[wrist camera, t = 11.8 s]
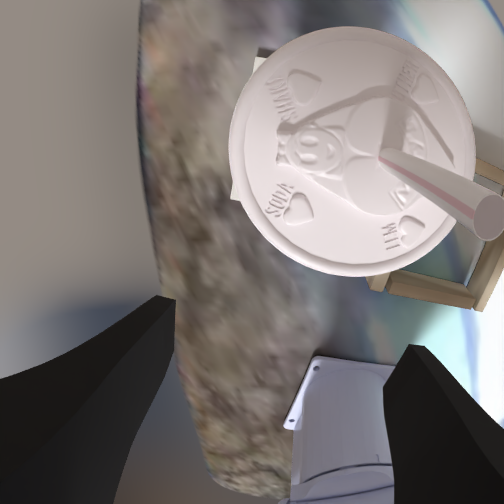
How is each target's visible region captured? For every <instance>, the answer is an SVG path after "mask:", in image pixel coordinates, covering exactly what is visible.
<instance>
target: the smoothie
mask: <svg viewBox="0 0 504 504" xmlns="http://www.w3.org/2000/svg"><path fill="white" fill-rule="evenodd" d="M229 162H230V168H231V174H232V178H233V182H234V186H235V189H236V191H237V194H238V197H239V199H240V201H241V203H242V205H243V207H244V209H245V211H246V213H247V214H248V216H249V218H250V219H251V221H252V222H253V224H254V225H255V226H256V228H257V229H258V230H259V231H260V232H261V234H262V235H263V236H264V237H265V238H266V239H267V240H268V241H269V242H270V243H271V244H272V245H273V246H275V247H276V248H277V249H278V250H280V251H281V252H282V253H284V254H285V255H287V256H288V257H290V258H291V259H293V260H295V261H296V262H298V263H300V264H302V265H304V266H307V267H309V268H312V269H314V270H317V271H321V272H324V273H328V274H333V275H338V276H348V277H363V276H373V275H379V274H384V273H388V272H391V271H394V270H397V269H400V268H402V267H405V266H407V265H409V264H411V263H413V262H415V261H416V260H418V259H420V258H421V257H423V256H424V255H426V254H427V253H428V252H430V251H431V250H432V249H433V248H434V247H436V246H437V245H438V244H439V243H440V242H441V241H442V240H443V239H444V238H445V236H446V235H447V234H448V233H449V232H450V230H451V229H452V228H453V226H454V225H455V224H456V222H457V221H458V222H459V223H461V224H462V225H463V226H464V227H466V228H467V229H468V230H469V231H471V232H472V233H473V234H474V235H476V236H477V237H478V238H479V239H481V240H483V241H491V240H494V239H496V238H497V237H498V236H500V234H501V233H502V232H503V230H504V198H503V197H502V196H501V195H499V194H497V193H496V192H494V191H492V190H490V189H488V188H486V187H484V186H482V185H479V184H477V183H475V182H473V179H474V174H475V164H476V146H475V137H474V131H473V126H472V123H471V119H470V116H469V113H468V110H467V108H466V105H465V103H464V101H463V99H462V97H461V95H460V93H459V91H458V89H457V88H456V86H455V85H454V83H453V82H452V80H451V79H450V78H449V76H448V75H447V74H446V73H445V71H444V70H443V69H442V68H441V67H440V66H439V65H438V64H437V63H436V62H435V61H434V60H433V59H432V58H431V57H429V56H428V55H427V54H426V53H425V52H423V51H422V50H420V49H419V48H417V47H416V46H414V45H413V44H411V43H409V42H407V41H406V40H404V39H402V38H399V37H397V36H395V35H392V34H389V33H386V32H383V31H380V30H375V29H371V28H365V27H355V26H341V27H332V28H326V29H321V30H317V31H313V32H310V33H307V34H305V35H302V36H300V37H298V38H296V39H294V40H291V41H290V42H288V43H286V44H285V45H283V46H282V47H280V48H279V49H277V50H276V51H275V52H274V53H272V54H271V55H270V56H269V57H268V58H267V59H266V60H265V61H264V62H263V63H262V64H261V65H260V66H259V67H258V68H257V69H256V71H255V72H254V73H253V74H252V76H251V77H250V79H249V80H248V82H247V83H246V85H245V87H244V89H243V91H242V93H241V95H240V97H239V99H238V102H237V104H236V107H235V110H234V113H233V117H232V121H231V127H230V134H229Z"/></svg>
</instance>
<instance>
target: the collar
mask: <svg viewBox="0 0 504 504" xmlns="http://www.w3.org/2000/svg"><path fill="white" fill-rule="evenodd" d="M475 173H477V174H479V175H481V176H484V177H486V178H488V179H490V180H492V181H495V182H497V183H499V184H501V185H503V186H504V171H503V170H501V169H499V168H497V167H495V166H493V165H491V164H489V163H486V162H484V161H482V160H480V159H478V158H476V164H475ZM502 197H503V198H504V192H503V195H502ZM503 268H504V230H503V232H502V233H501V234H500V236H498V237H497V238H496V239H494V240H491V241H486V244H485V247H484V249H483V252H482V254H481V256H480V259H479V261H478V264H477V266H476V268H475V271H474V273H473V275H472V277H471V279H470V282H469V284H468V286H467V288H466V286H465V285H464V284H460V283H456V282H452V281H448V280H443V279H439V278H435V277H431V276H426V275H422V274H418V273H413V272H409V271H405V270H400V269H397V270H394V271H391V272H388V273H384V274H379V275H373V276H365V278H366V280H367V283H368V286H369V288H370V290H374V291H379V292H383V290H384V287H386V289H387V292H388V294H393V295H398V296H403V297H408V298H414V299H419V300H424V301H429V302H434V303H439V304H444V305H449V306H454V307H460V308H465V309H470V310H471V308H473V309H474V310H475V311H481V312H483V310H484V308H485V306H486V304H487V302H488V300H489V298H490V296H491V294H492V292H493V290H494V288H495V286H496V284H497V282H498V279H499V277H500V275H501V273H502V271H503Z"/></svg>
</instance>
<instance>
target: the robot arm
mask: <svg viewBox="0 0 504 504" xmlns="http://www.w3.org/2000/svg"><path fill="white" fill-rule="evenodd" d="M175 307H176V300H174V299H170V298H166V297H162V296H158V295H156V296H154V297H153V298H151V299H150V300H148V301H147V302H146V303H144V304H142V305H141V306H140V307H138V308H137V309H136V310H134V311H132V312H131V313H130V314H128V315H127V316H125V317H124V318H122V319H121V320H119V321H118V322H116V323H115V324H114V325H112V326H110V327H109V328H107V329H106V330H104V331H103V332H101V333H100V334H98V335H96V336H95V337H93V338H91V339H90V340H88V341H86V342H84V343H83V344H81V345H79V346H78V347H76V348H74V349H72V350H70V351H69V352H67V353H65V354H63V355H61V356H59V357H56V358H54V359H52V360H50V361H48V362H46V363H43V364H41V365H38V366H36V367H33V368H30V369H28V370H25V371H22V372H20V373H17V374H14V375H12V376H8V377H5V378H2V379H0V504H113V502H114V498H115V494H116V491H117V488H118V484H119V481H120V478H121V474H122V471H123V469H124V465H125V463H126V460H127V457H128V454H129V451H130V448H131V445H132V443H133V441H134V438H135V436H136V434H137V432H138V430H139V428H140V426H141V423H142V422H143V419H144V417H145V415H146V413H147V411H148V409H149V407H150V405H151V403H152V401H153V399H154V397H155V395H156V393H157V391H158V389H159V387H160V385H161V383H162V381H163V379H164V377H165V374H166V371H167V369H168V366H169V363H170V360H171V357H172V354H173V352H174V332H175ZM315 366H319V367H315ZM284 428H286V429H291V430H294V436H293V455H292V471H291V483H292V486H291V495H290V498H285V499H282V500H281V501H280V502H279V503H278V504H504V429H503V428H502V427H501V426H500V425H499V424H498V423H496V422H495V421H494V420H493V419H492V418H491V417H490V416H489V415H488V414H487V413H486V412H485V411H484V410H483V409H482V408H481V406H480V405H479V404H478V403H477V402H476V401H475V400H474V399H473V398H472V397H471V396H470V395H469V394H468V392H467V391H466V390H465V389H464V388H463V387H462V386H461V385H460V383H459V382H458V381H457V380H456V379H455V378H454V377H453V375H452V374H451V373H450V372H449V371H448V370H447V369H446V368H445V366H444V365H443V364H442V363H441V362H440V361H439V360H438V359H437V358H436V357H435V356H434V355H433V354H432V353H431V352H430V351H429V350H428V349H427V348H426V347H425V346H420V345H412V344H409V345H408V347H407V348H406V350H405V352H404V353H403V355H402V357H401V358H400V360H399V362H398V363H397V365H396V366H389V365H380V364H372V363H364V362H357V361H350V360H343V359H336V358H330V357H324V356H315V357H314V358H313V359H312V360H311V363H310V365H309V368H308V370H307V372H306V375H305V377H304V379H303V382H302V384H301V386H300V388H299V391H298V393H297V395H296V397H295V400H294V402H293V404H292V406H291V408H290V411H289V413H288V415H287V417H286V419H285V421H284Z"/></svg>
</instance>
